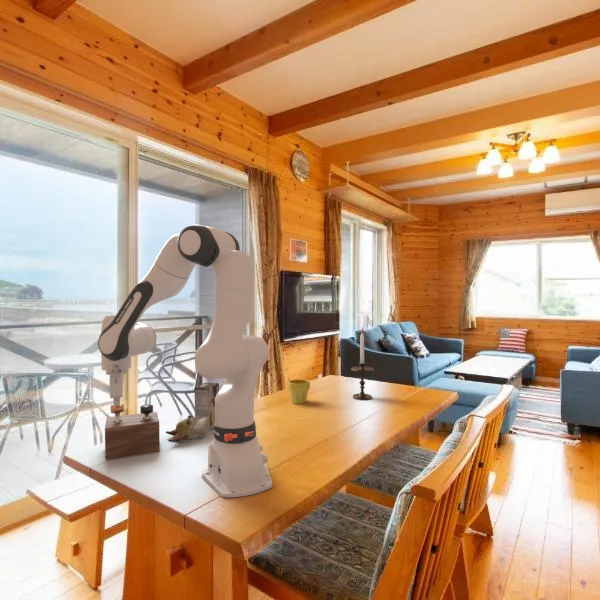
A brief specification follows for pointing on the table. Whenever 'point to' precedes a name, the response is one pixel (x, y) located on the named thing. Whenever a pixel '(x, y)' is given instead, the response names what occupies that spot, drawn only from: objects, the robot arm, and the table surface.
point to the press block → (131, 436)
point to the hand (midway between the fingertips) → (117, 405)
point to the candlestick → (362, 371)
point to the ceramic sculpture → (189, 429)
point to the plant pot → (299, 390)
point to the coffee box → (206, 402)
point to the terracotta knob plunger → (117, 411)
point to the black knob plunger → (146, 410)
